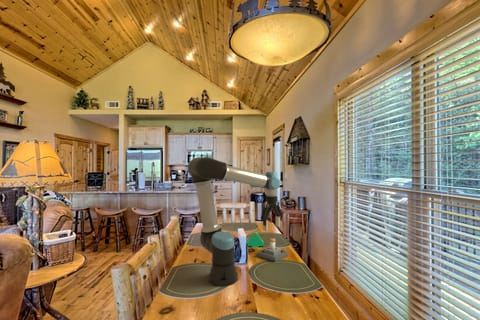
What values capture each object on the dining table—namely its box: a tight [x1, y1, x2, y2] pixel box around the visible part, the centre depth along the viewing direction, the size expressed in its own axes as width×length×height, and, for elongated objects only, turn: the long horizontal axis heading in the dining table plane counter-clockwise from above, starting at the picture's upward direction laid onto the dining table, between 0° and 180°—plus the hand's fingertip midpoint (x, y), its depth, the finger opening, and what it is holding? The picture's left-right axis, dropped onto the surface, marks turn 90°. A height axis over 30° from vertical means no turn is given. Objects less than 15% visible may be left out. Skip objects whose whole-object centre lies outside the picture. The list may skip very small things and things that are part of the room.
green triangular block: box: [246, 231, 265, 248], centre depth 187 cm, size 12×8×10 cm, turn 87°
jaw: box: [269, 237, 276, 250], centre depth 165 cm, size 4×4×10 cm
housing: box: [256, 245, 288, 263], centre depth 165 cm, size 14×14×5 cm
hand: (271, 228), depth 165 cm, fingers open, 13 cm apart
